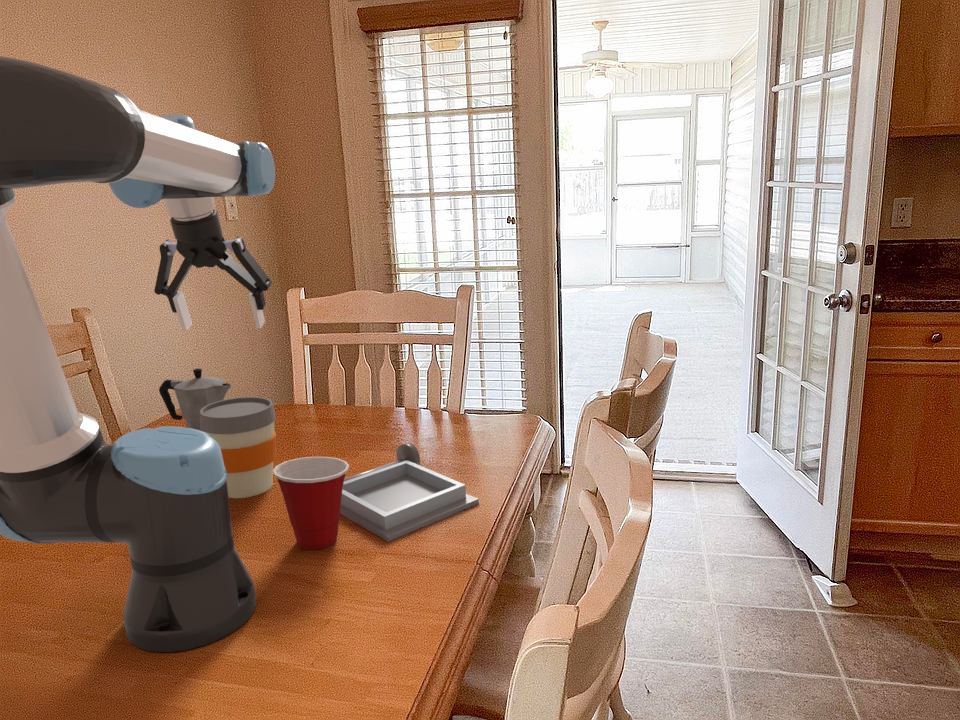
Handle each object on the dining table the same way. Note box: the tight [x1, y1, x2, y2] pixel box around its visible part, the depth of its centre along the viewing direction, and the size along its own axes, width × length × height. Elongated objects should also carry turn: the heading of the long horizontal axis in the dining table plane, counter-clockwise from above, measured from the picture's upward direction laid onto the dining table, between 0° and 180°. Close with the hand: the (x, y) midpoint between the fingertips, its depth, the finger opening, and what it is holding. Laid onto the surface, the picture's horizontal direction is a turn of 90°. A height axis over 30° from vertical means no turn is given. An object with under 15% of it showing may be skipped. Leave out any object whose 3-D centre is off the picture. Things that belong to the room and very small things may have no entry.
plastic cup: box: [273, 456, 350, 551], centre depth 106 cm, size 11×11×12 cm
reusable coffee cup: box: [200, 396, 277, 499], centre depth 125 cm, size 13×12×15 cm
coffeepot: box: [158, 368, 232, 432], centre depth 142 cm, size 15×9×18 cm, turn 79°
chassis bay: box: [340, 442, 480, 543], centre depth 119 cm, size 21×23×5 cm
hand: (224, 326), depth 129 cm, fingers open, 13 cm apart
